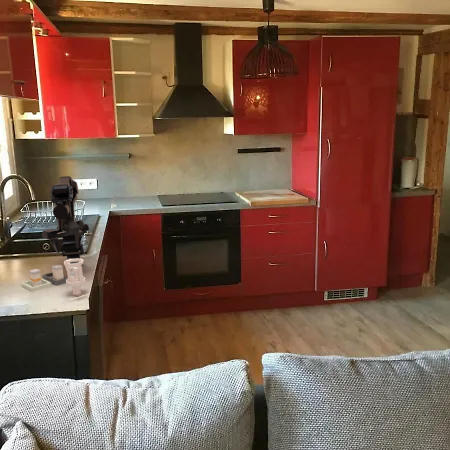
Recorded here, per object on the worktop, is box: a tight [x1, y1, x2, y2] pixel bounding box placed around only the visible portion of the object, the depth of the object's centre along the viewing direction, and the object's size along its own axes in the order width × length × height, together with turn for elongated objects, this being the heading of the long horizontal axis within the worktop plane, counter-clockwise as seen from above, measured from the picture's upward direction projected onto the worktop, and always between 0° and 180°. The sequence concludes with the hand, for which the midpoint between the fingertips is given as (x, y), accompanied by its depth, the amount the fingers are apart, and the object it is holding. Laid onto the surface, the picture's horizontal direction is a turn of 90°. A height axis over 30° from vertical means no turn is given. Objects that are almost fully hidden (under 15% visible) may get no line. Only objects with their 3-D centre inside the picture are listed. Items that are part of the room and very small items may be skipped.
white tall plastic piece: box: [63, 258, 86, 298], centre depth 190 cm, size 7×7×15 cm
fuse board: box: [41, 271, 68, 287], centre depth 207 cm, size 12×5×3 cm, turn 45°
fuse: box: [51, 264, 65, 280], centre depth 204 cm, size 4×3×7 cm
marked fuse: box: [28, 268, 43, 287], centre depth 201 cm, size 4×3×7 cm
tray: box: [20, 277, 53, 293], centre depth 201 cm, size 10×8×2 cm
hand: (68, 250), depth 211 cm, fingers open, 9 cm apart
